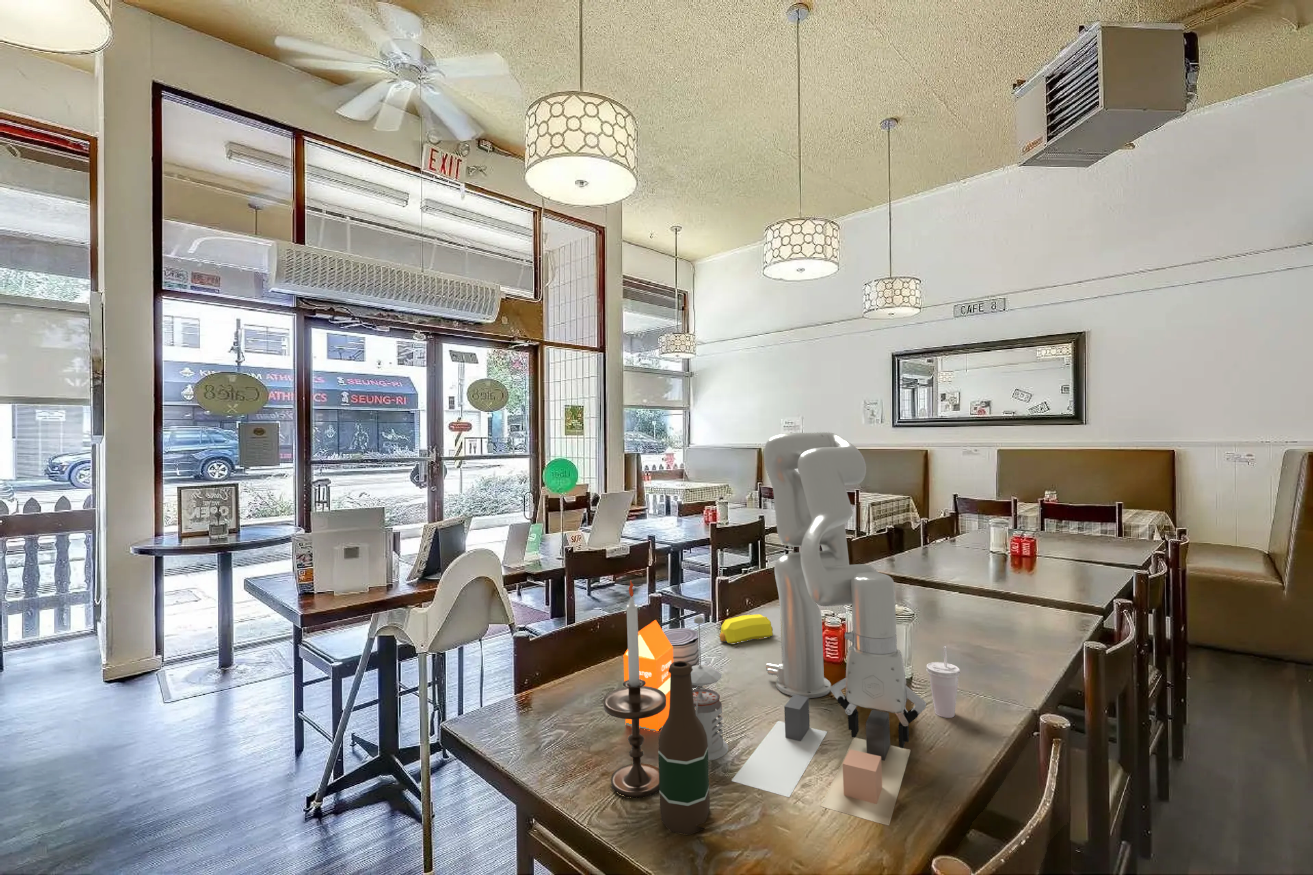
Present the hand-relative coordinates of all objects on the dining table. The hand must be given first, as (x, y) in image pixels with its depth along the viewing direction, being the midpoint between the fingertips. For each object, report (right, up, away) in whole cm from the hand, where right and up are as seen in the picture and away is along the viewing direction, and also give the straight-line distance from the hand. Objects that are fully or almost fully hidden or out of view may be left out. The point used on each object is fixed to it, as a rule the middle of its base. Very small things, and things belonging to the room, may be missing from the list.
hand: (878, 738), depth 106 cm
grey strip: (-17, -4, 0) cm, 18 cm away
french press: (-32, -5, +5) cm, 33 cm away
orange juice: (-42, -5, +18) cm, 46 cm away
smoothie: (+20, -3, +16) cm, 26 cm away
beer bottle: (-36, -4, -16) cm, 40 cm away
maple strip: (-4, -3, -8) cm, 10 cm away
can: (-35, -5, +36) cm, 51 cm away
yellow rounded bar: (-14, -5, +67) cm, 69 cm away
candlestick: (-44, -5, -6) cm, 44 cm away
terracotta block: (-7, -2, -12) cm, 14 cm away
